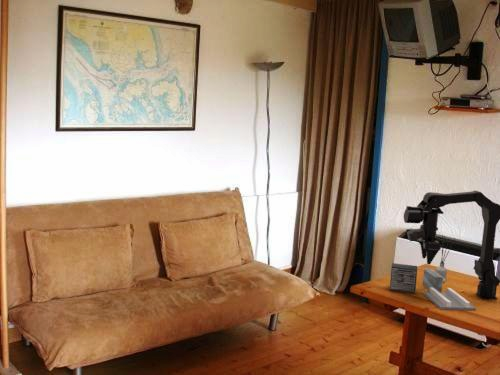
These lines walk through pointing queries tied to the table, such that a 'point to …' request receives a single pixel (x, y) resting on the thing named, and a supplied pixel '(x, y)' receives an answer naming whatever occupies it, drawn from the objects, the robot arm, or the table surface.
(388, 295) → the table surface
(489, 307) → the table surface
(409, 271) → the small box
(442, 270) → the reed diffuser
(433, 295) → the sliding track
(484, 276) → the robot arm
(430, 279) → the long grey rectangular beam
